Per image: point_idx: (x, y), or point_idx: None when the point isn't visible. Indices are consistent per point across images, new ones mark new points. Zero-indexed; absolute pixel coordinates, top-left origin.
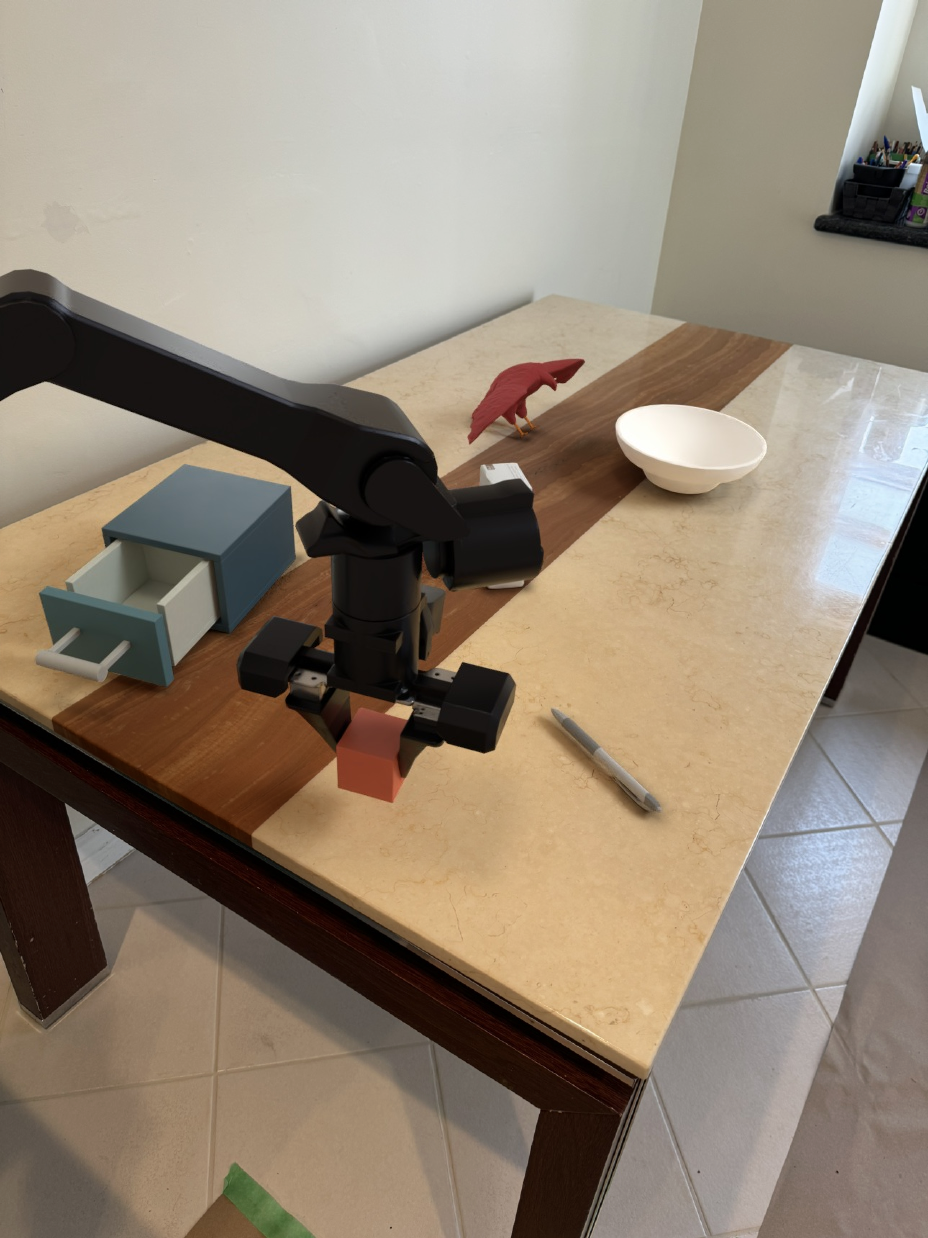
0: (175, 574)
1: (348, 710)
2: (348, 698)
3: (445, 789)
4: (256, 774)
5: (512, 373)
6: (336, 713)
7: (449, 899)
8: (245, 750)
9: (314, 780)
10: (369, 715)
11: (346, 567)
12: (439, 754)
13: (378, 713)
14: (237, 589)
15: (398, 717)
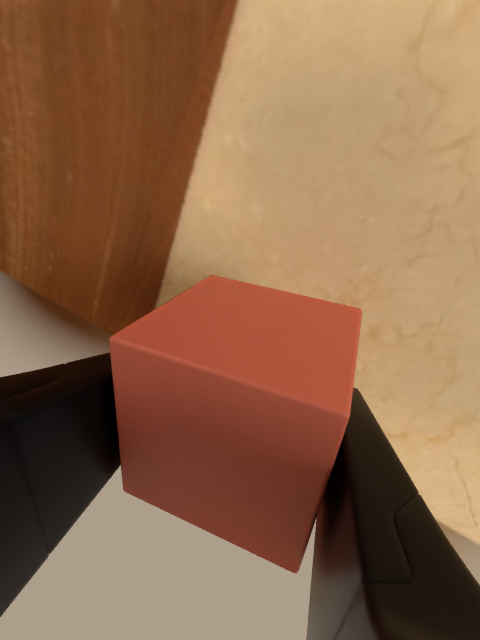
0: None
1: (72, 413)
2: (21, 427)
3: (454, 220)
4: (97, 250)
5: None
6: (27, 523)
7: (455, 468)
8: (59, 201)
9: (177, 247)
10: (155, 378)
11: None
12: (437, 85)
13: (181, 369)
14: None
15: (267, 390)
